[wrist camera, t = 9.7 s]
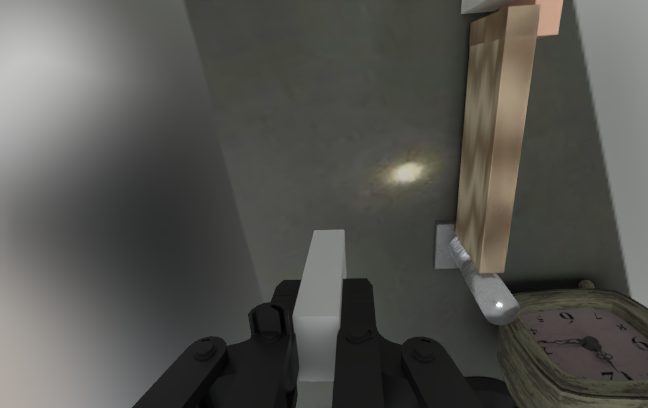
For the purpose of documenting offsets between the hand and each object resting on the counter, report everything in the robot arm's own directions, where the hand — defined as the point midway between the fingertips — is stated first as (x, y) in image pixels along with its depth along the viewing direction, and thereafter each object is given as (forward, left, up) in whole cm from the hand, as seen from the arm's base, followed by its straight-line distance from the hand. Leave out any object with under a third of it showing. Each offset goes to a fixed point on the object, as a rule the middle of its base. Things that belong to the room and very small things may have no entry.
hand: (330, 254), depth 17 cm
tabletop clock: (-21, -24, -24) cm, 40 cm away
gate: (+1, -14, -22) cm, 26 cm away
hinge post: (-12, -14, -24) cm, 30 cm away
